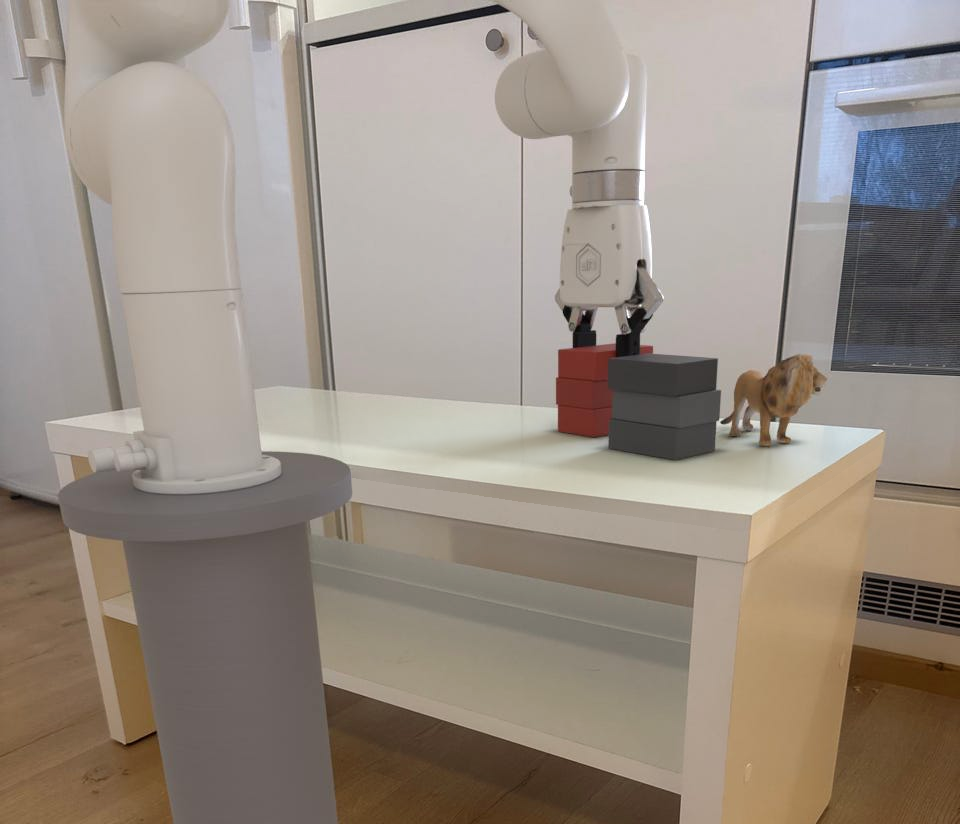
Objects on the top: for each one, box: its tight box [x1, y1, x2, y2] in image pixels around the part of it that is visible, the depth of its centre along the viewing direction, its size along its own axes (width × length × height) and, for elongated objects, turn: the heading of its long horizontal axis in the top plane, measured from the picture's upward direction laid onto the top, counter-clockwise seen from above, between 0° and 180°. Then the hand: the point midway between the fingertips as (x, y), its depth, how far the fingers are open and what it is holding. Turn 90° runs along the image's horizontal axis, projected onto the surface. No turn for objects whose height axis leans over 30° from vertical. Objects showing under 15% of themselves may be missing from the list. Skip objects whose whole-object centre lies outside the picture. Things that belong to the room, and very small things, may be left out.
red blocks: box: [555, 376, 612, 438], centre depth 108 cm, size 6×9×6 cm
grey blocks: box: [607, 353, 722, 461], centre depth 95 cm, size 6×9×9 cm
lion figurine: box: [719, 353, 828, 447], centre depth 98 cm, size 15×5×9 cm, turn 21°
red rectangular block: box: [557, 342, 654, 381], centre depth 106 cm, size 6×9×3 cm, turn 128°
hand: (605, 368), depth 106 cm, fingers closed on red rectangular block, 6 cm apart
